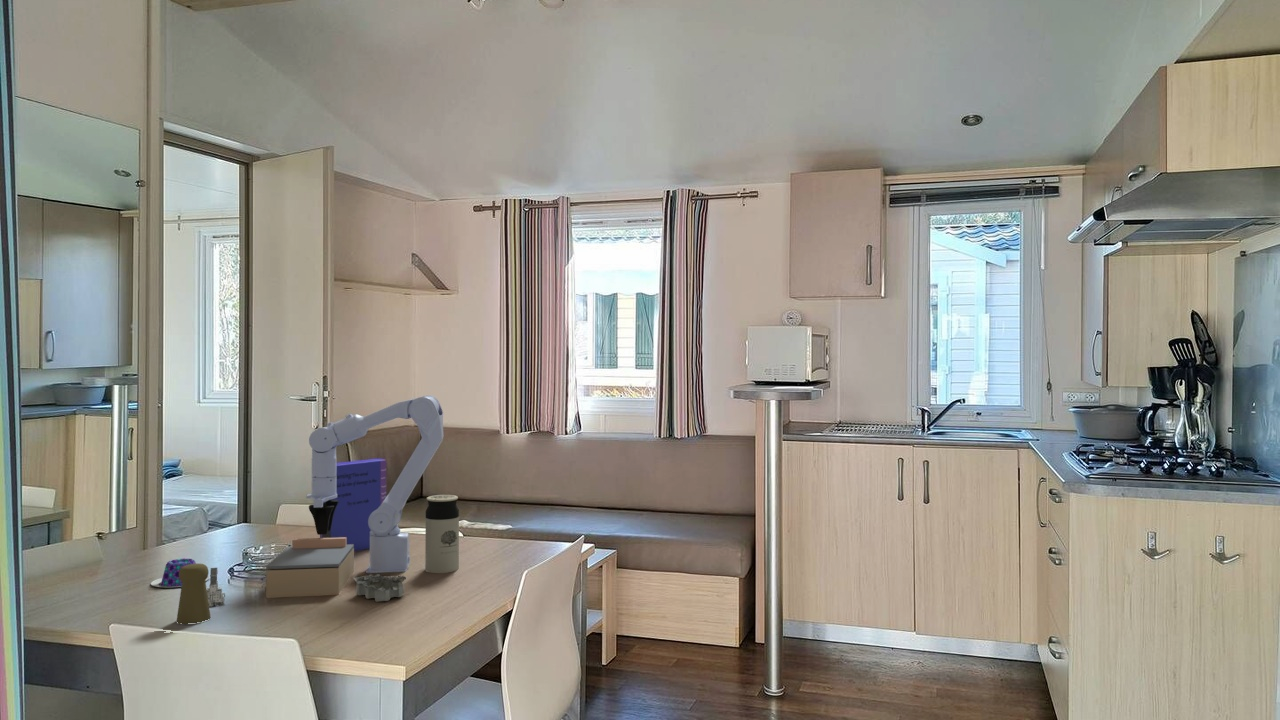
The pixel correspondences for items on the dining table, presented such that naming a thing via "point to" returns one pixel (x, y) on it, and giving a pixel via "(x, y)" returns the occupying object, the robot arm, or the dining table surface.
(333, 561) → the lid
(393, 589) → the egg carton
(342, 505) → the blue book
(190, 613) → the cork
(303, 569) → the mailer box
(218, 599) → the miniature stone castle
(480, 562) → the dining table surface
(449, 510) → the travel mug
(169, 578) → the purple spotted hat
